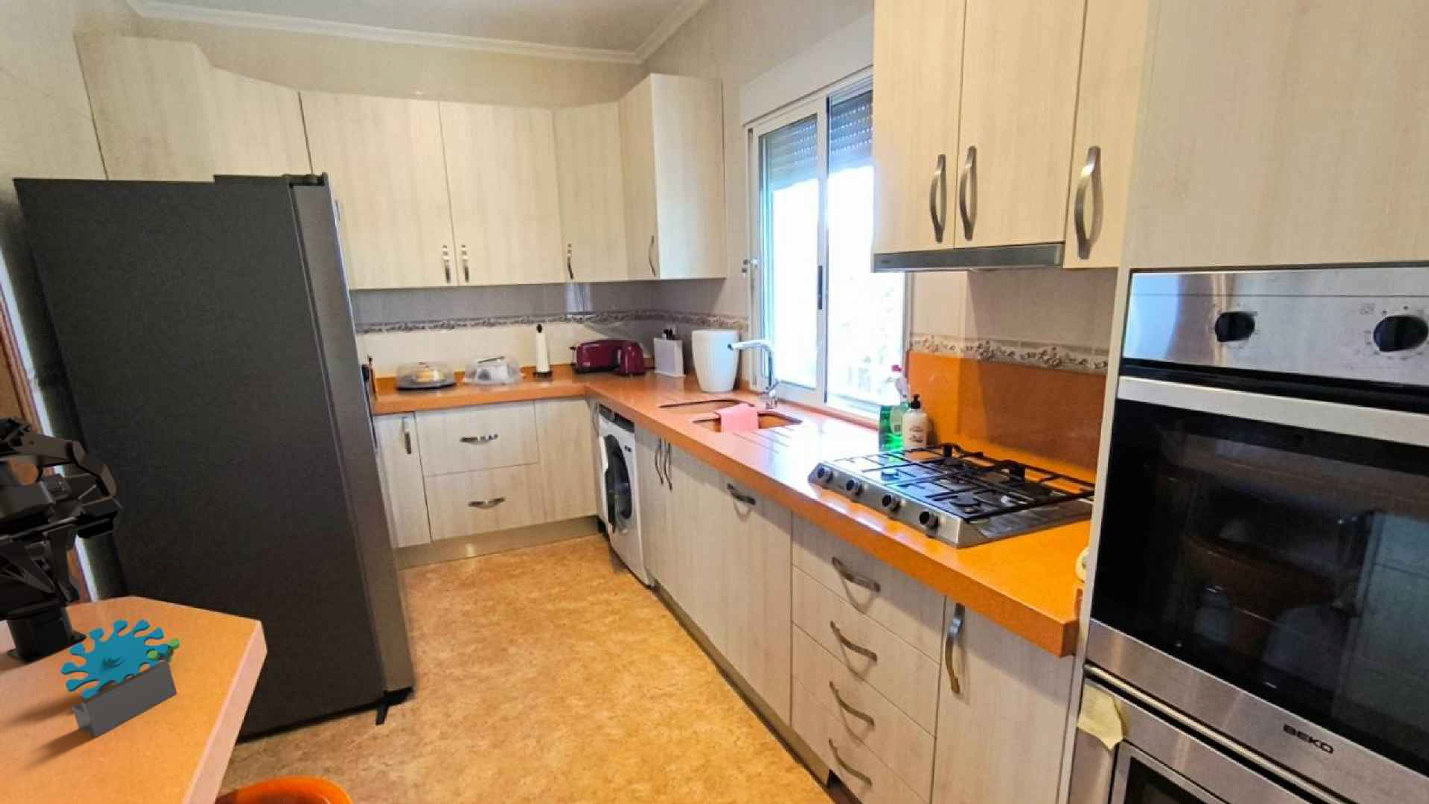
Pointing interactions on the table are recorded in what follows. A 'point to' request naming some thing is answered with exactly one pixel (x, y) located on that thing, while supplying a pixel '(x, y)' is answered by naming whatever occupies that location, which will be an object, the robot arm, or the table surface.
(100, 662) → the gear
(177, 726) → the table surface
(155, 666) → the bay frame
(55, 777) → the table surface
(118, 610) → the table surface
